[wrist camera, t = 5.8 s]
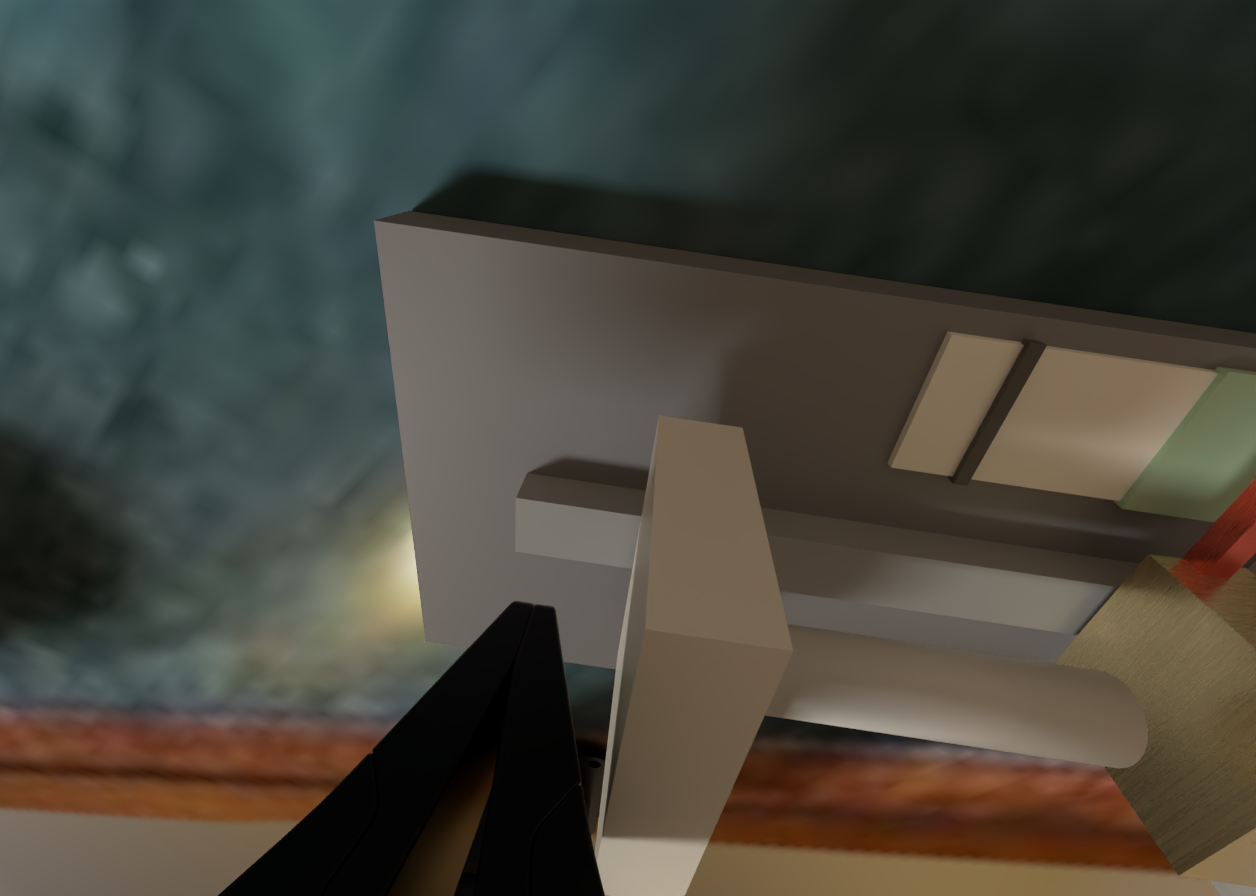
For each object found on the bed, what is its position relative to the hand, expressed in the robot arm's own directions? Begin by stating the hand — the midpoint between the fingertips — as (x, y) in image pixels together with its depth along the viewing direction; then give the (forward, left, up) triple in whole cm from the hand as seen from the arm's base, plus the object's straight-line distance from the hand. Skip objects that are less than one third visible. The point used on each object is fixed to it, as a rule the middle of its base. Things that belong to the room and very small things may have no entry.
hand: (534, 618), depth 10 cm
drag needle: (+1, -13, -2) cm, 13 cm away
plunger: (0, -6, -2) cm, 7 cm away
